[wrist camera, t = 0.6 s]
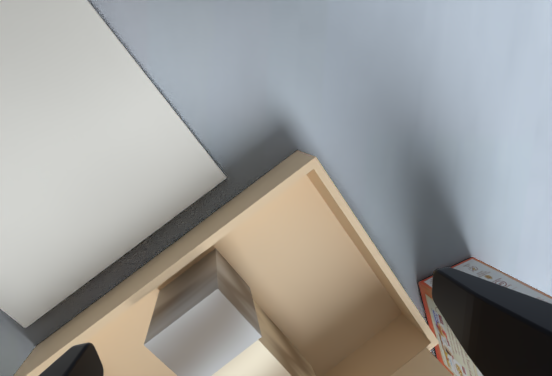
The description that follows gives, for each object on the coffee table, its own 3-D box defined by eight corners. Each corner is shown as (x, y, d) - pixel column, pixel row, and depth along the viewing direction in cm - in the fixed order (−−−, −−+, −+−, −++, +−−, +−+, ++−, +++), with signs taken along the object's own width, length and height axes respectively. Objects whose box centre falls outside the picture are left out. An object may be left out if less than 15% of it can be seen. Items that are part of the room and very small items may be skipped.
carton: (198, 475, 26) (192, 651, 17) (35, 346, 21) (-85, 503, 12) (406, 310, 27) (499, 401, 18) (297, 150, 22) (354, 170, 13)
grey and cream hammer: (315, 362, 26) (342, 424, 20) (268, 400, 25) (283, 471, 20) (215, 248, 22) (217, 288, 17) (159, 290, 22) (143, 345, 16)
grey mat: (30, 322, 21) (24, 328, 20) (-220, 119, 16) (-236, 119, 15) (226, 176, 21) (226, 177, 21) (40, -61, 17) (34, -67, 16)
